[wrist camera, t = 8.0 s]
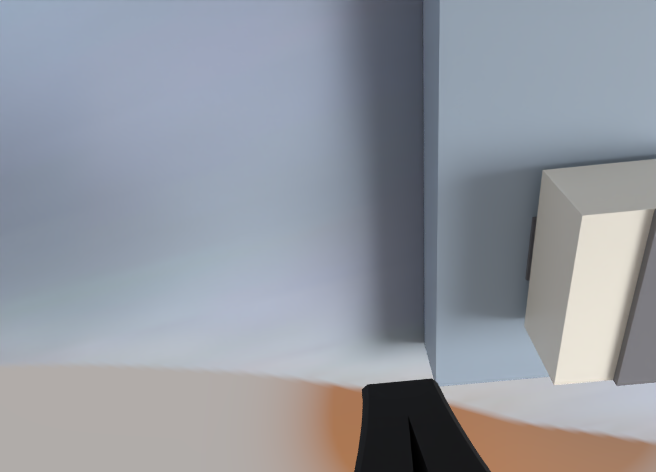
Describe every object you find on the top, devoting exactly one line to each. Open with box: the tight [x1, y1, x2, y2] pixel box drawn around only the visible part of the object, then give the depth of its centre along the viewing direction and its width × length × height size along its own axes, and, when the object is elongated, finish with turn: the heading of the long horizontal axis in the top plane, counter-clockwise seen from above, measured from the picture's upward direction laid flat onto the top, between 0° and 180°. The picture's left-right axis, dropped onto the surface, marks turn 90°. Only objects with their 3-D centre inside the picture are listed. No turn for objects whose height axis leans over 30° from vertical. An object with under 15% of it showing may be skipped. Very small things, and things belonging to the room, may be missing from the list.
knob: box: [524, 159, 656, 386], centre depth 14 cm, size 4×5×2 cm
